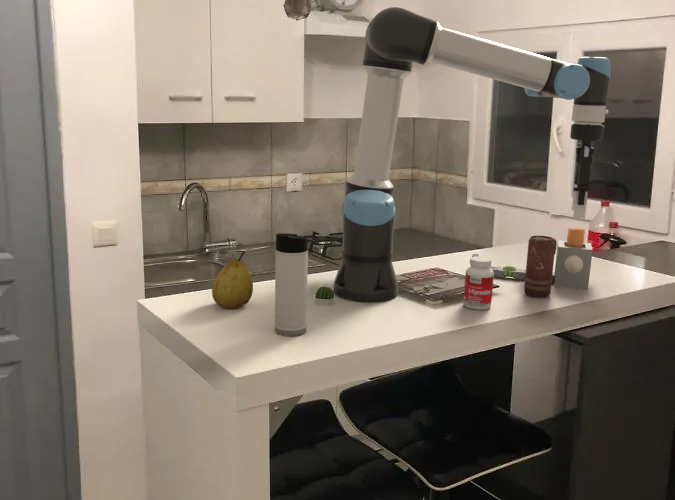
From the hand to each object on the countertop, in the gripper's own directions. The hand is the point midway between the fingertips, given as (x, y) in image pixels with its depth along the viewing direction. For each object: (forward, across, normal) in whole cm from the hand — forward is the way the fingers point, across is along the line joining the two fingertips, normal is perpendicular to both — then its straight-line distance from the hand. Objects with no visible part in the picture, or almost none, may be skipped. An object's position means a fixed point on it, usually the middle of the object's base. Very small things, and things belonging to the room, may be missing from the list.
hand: (578, 214), depth 181 cm
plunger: (+10, 0, 0) cm, 10 cm away
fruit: (+18, -47, +72) cm, 88 cm away
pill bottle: (+18, -28, +21) cm, 39 cm away
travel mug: (+18, -58, +55) cm, 82 cm away
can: (+18, -14, +8) cm, 24 cm away
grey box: (+18, 0, 0) cm, 18 cm away
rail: (+18, 0, +14) cm, 22 cm away
